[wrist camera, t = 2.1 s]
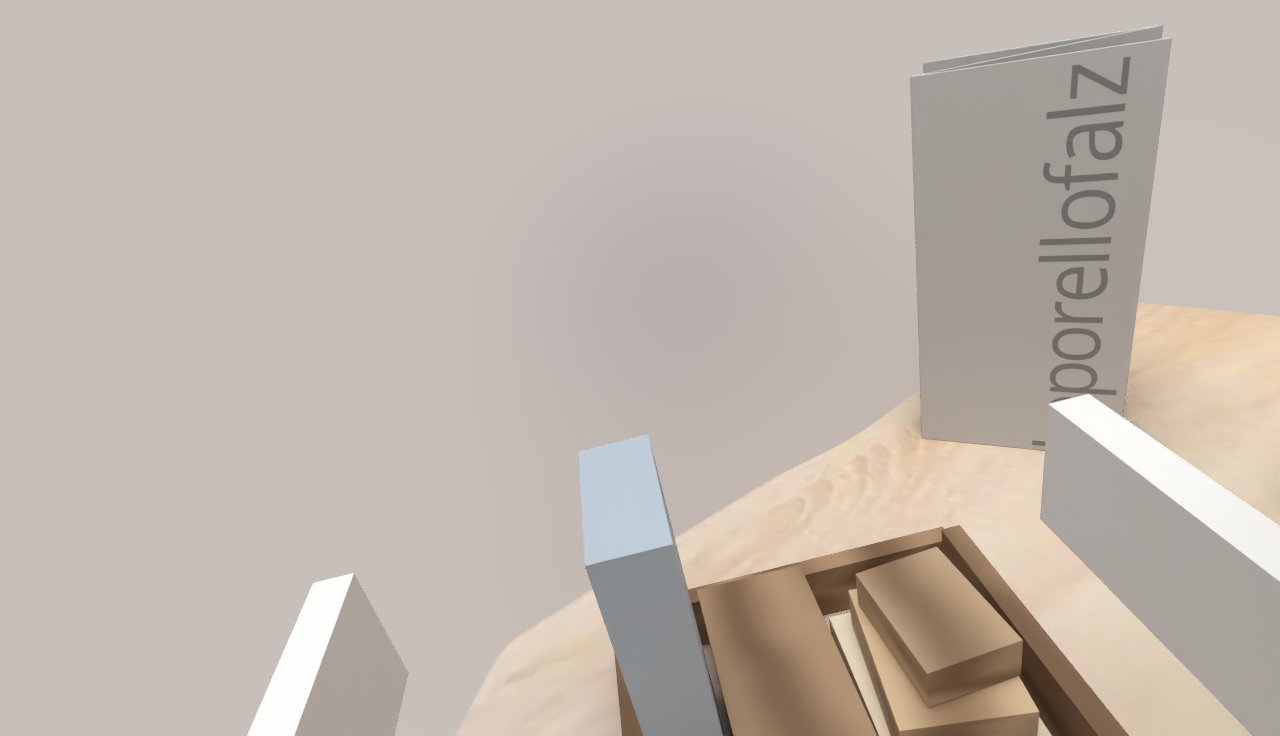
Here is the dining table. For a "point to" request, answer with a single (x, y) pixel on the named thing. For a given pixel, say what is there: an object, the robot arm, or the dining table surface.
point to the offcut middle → (951, 731)
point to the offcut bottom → (860, 675)
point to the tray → (811, 663)
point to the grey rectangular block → (644, 591)
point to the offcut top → (938, 626)
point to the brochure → (1031, 228)
